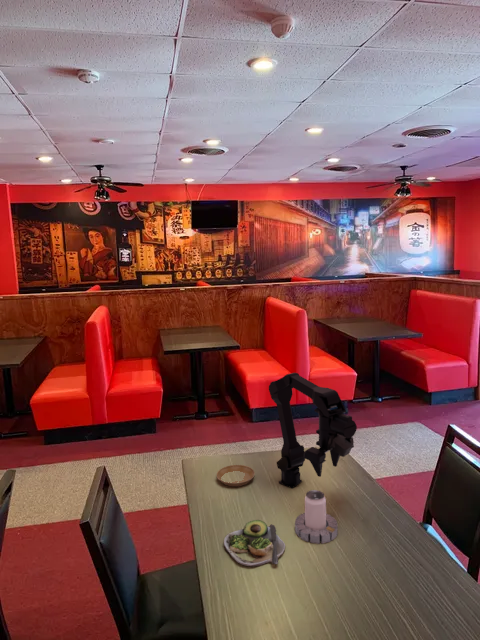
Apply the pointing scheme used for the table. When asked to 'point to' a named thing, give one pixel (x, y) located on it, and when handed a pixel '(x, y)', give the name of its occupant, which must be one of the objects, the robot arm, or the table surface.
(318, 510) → the can
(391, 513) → the table surface
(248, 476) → the plant saucer
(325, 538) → the toothed ring
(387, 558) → the table surface
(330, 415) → the robot arm
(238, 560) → the avocado toast plate
